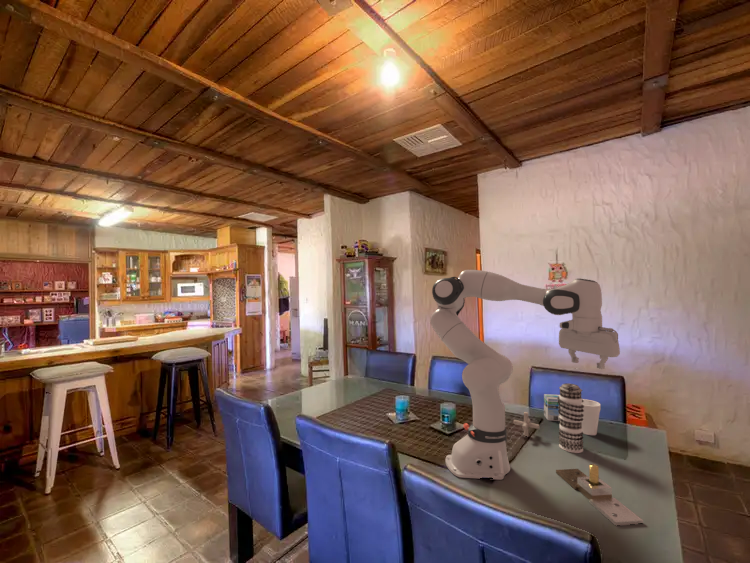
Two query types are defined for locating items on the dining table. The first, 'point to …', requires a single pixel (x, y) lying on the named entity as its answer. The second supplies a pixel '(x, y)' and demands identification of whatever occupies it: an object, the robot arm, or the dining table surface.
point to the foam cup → (590, 416)
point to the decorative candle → (570, 418)
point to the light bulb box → (551, 407)
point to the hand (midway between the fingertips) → (587, 365)
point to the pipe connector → (526, 424)
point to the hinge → (600, 497)
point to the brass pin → (594, 475)
